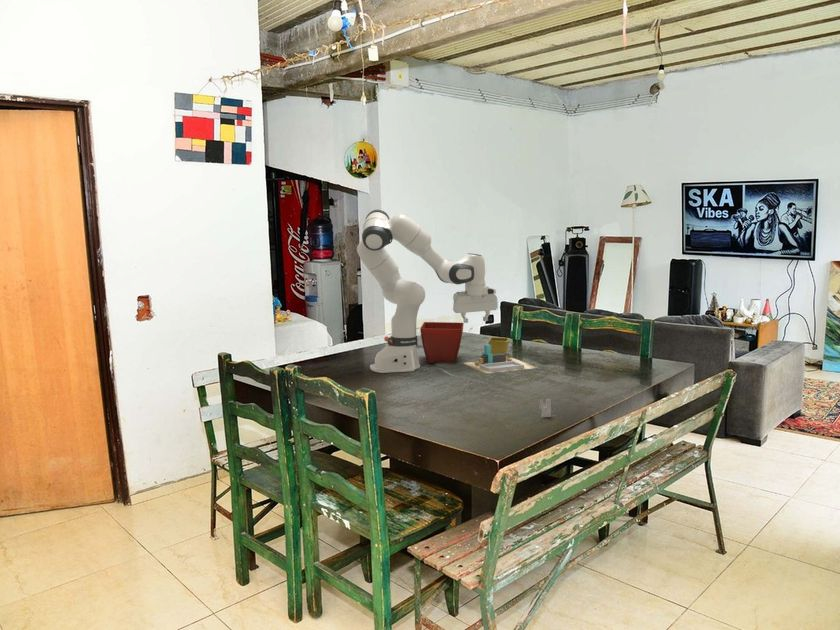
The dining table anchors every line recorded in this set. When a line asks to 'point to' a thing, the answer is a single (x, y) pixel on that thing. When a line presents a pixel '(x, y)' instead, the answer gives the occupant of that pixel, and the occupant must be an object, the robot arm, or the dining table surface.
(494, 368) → the tray
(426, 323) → the plant pot
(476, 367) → the board
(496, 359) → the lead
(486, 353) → the teal stepped block
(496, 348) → the flower pot
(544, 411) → the architectural model
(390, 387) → the dining table surface
